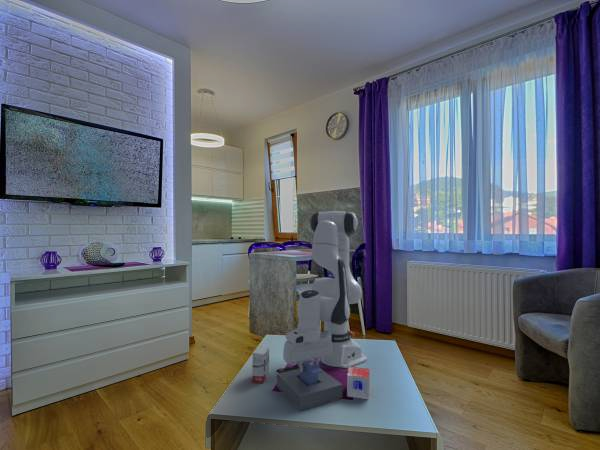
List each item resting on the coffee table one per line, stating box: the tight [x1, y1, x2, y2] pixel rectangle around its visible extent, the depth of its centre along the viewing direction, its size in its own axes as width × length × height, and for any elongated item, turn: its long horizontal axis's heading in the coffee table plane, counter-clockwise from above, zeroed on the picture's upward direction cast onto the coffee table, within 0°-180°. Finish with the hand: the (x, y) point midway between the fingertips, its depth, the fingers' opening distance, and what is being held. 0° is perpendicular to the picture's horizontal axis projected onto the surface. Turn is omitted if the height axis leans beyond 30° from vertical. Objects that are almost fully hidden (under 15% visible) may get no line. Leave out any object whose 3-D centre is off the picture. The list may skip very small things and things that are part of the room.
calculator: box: [276, 362, 300, 374], centre depth 135 cm, size 9×12×3 cm
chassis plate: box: [276, 366, 343, 412], centre depth 120 cm, size 18×19×5 cm
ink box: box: [251, 345, 270, 384], centre depth 131 cm, size 9×5×12 cm, turn 168°
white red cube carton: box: [346, 366, 370, 400], centre depth 120 cm, size 8×8×8 cm
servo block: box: [299, 359, 323, 386], centre depth 119 cm, size 4×13×8 cm, turn 29°
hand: (308, 370), depth 119 cm, fingers closed on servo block, 4 cm apart
